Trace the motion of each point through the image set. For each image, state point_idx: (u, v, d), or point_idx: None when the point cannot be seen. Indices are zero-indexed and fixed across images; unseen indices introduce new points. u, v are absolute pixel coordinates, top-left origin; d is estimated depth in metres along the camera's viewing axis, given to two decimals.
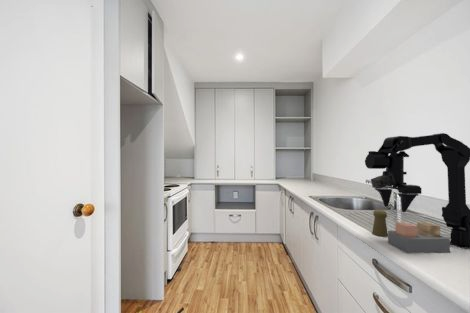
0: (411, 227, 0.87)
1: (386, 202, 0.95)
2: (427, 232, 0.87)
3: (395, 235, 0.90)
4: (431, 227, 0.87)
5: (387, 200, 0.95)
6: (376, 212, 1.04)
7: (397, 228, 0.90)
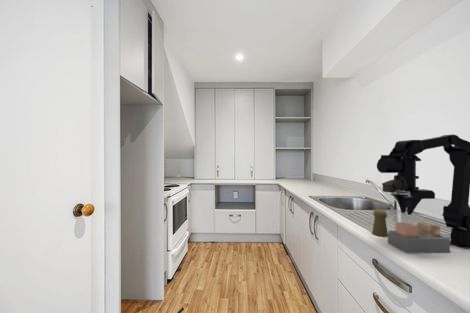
0: (411, 227, 0.87)
1: (403, 208, 0.90)
2: (427, 232, 0.87)
3: (395, 235, 0.90)
4: (431, 227, 0.87)
5: (404, 206, 0.91)
6: (376, 212, 1.04)
7: (397, 228, 0.90)
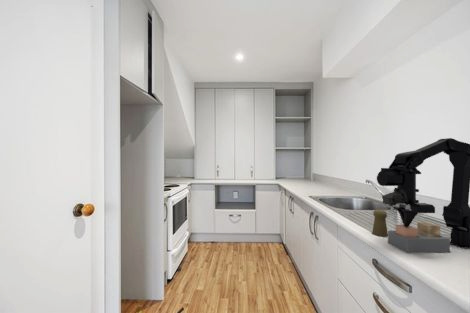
0: (411, 229, 0.87)
1: None
2: (427, 232, 0.87)
3: (395, 235, 0.90)
4: (431, 227, 0.87)
5: None
6: (376, 212, 1.04)
7: (397, 230, 0.90)
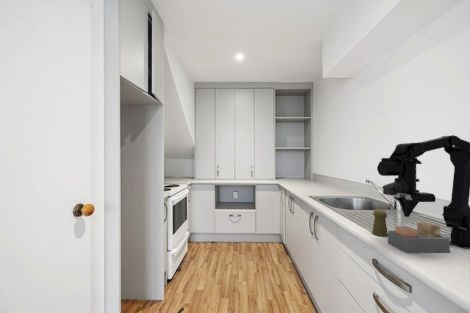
0: (411, 231, 0.87)
1: None
2: (427, 232, 0.87)
3: (395, 235, 0.90)
4: (431, 227, 0.87)
5: None
6: (376, 212, 1.04)
7: (397, 232, 0.90)
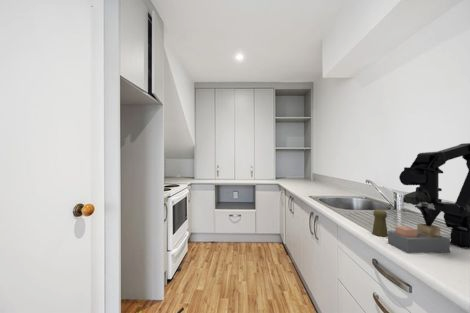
0: (411, 231, 0.87)
1: None
2: (427, 234, 0.87)
3: (395, 235, 0.90)
4: (431, 229, 0.87)
5: None
6: (376, 212, 1.04)
7: (397, 232, 0.90)
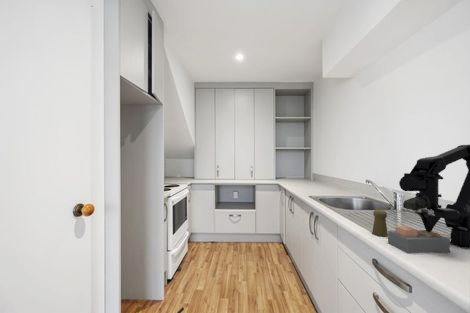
0: (411, 231, 0.87)
1: None
2: None
3: (395, 235, 0.90)
4: (431, 235, 0.87)
5: None
6: (376, 212, 1.04)
7: (397, 232, 0.90)
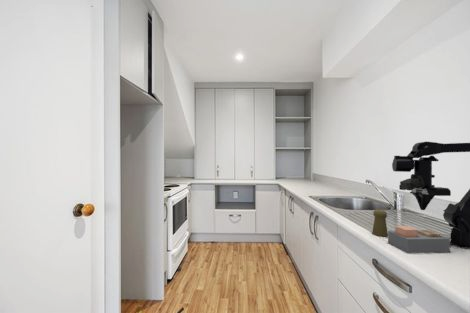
0: (411, 231, 0.87)
1: None
2: None
3: (395, 235, 0.90)
4: (431, 235, 0.87)
5: None
6: (376, 212, 1.04)
7: (397, 232, 0.90)
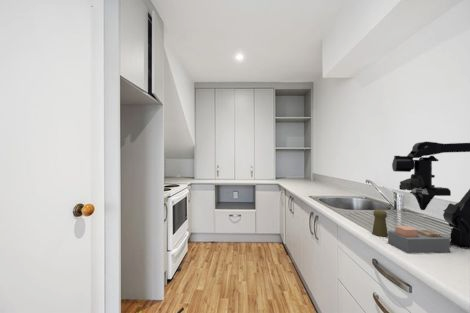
0: (411, 231, 0.87)
1: None
2: None
3: (395, 235, 0.90)
4: (431, 235, 0.87)
5: None
6: (376, 212, 1.04)
7: (397, 232, 0.90)
